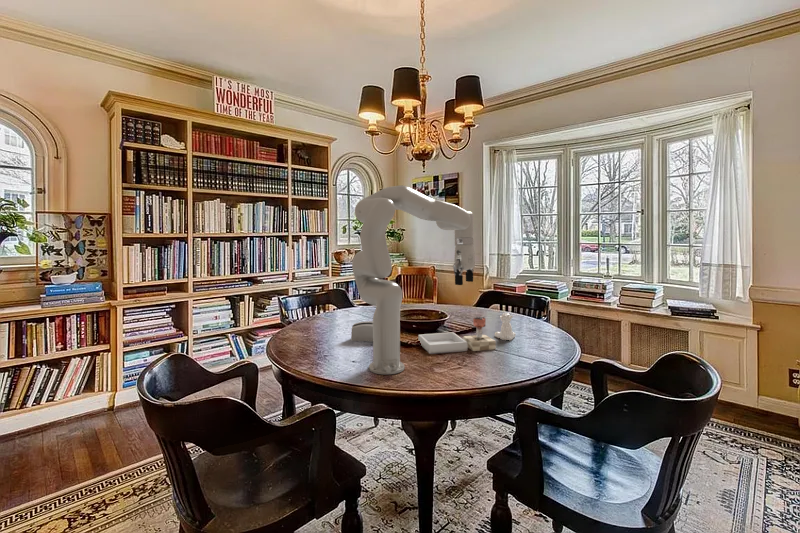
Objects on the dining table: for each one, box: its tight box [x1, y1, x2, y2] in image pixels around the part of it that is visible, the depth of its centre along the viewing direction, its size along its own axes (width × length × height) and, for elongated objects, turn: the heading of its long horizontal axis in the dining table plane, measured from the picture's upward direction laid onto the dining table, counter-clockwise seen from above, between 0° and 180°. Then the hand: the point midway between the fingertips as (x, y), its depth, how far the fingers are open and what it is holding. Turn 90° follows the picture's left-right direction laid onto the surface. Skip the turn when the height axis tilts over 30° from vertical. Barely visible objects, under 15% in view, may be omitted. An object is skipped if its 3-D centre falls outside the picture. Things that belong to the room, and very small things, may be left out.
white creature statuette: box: [494, 312, 516, 341], centre depth 178 cm, size 10×9×12 cm
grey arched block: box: [350, 320, 373, 342], centre depth 177 cm, size 17×5×10 cm, turn 85°
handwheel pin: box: [472, 316, 486, 340], centre depth 166 cm, size 5×5×12 cm
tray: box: [418, 331, 468, 355], centre depth 167 cm, size 16×16×4 cm
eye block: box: [462, 334, 497, 352], centre depth 167 cm, size 10×10×4 cm
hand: (464, 283), depth 164 cm, fingers open, 9 cm apart
